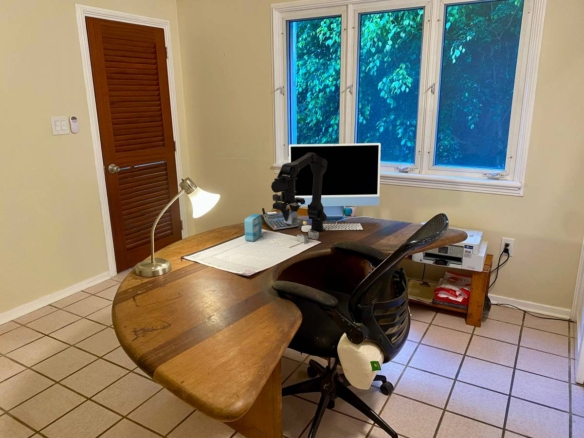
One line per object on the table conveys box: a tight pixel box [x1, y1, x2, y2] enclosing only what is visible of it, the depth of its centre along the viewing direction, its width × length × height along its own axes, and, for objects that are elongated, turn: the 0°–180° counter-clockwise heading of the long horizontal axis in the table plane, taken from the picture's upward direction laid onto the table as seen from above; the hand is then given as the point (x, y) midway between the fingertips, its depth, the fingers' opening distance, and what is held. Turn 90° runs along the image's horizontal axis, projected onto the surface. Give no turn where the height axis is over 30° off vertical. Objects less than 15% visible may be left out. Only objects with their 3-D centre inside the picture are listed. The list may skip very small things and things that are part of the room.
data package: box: [244, 213, 263, 242], centre depth 224 cm, size 12×4×12 cm, turn 162°
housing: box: [296, 229, 320, 245], centre depth 221 cm, size 12×5×4 cm, turn 138°
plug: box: [283, 209, 308, 226], centre depth 213 cm, size 4×13×6 cm, turn 49°
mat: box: [269, 236, 303, 249], centre depth 218 cm, size 9×14×1 cm, turn 48°
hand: (289, 220), depth 217 cm, fingers closed on plug, 4 cm apart
